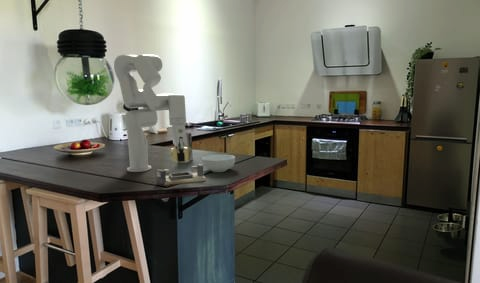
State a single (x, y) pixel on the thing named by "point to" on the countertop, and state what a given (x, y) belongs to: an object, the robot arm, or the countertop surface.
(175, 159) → the coupler
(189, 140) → the coffee box
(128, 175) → the countertop surface
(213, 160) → the cereal bowl
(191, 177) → the shaft bench
